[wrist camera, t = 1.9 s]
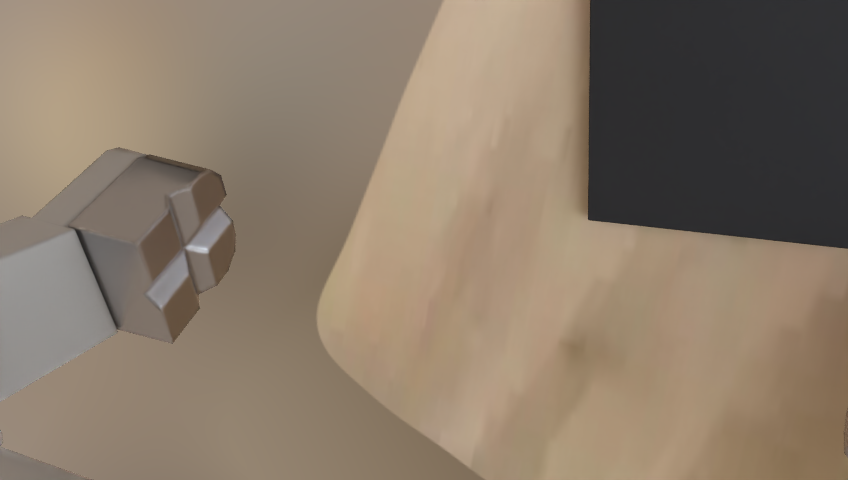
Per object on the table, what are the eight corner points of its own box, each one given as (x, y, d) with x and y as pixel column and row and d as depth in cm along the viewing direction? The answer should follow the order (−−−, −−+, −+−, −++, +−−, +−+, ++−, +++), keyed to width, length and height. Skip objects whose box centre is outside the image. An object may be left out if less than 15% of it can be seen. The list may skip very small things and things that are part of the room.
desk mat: (1066, -159, 33) (1068, -162, 32) (995, 260, 38) (996, 265, 37) (596, -106, 43) (590, -107, 42) (592, 216, 48) (587, 220, 48)
